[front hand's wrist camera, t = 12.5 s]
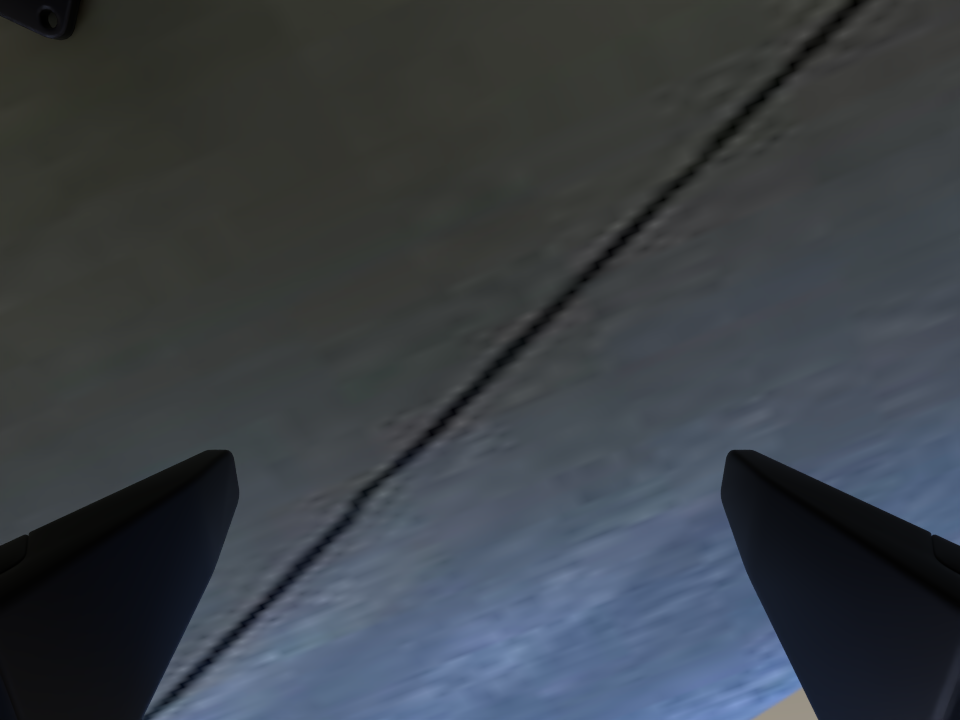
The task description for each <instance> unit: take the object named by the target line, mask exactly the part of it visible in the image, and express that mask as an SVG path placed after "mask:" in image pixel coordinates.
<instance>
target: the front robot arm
mask: <svg viewBox="0 0 960 720" xmlns="http://www.w3.org/2000/svg"><path fill="white" fill-rule="evenodd" d="M79 4H80V0H0V16H2V17H4V18H6V19H8V20H10V21H13V22H15V23H17V24H19V25H21V26H23V27H25V28H27V29H30V30H32V31H34V32H36V33H38V34H40V35H42V36H45V37H48V38H52V39H58V40H63V39H67V38H68V37H70V36H71V35H72V33H73V31H74V28H75V23H76V19H77V14H78V9H79ZM52 11H53V12H54V13H55V15H56V17H57V25H56V27H55V28H52V27H51V26H50V24H49V22H48V15H49V13H50V12H52ZM238 499H239V486H238V480H237V474H236V468H235V462H234V457H233V455H232V453H231V452H230V451H229V450H207V451H204V452H202V453H200V454H198V455H195V456H193V457H191V458H189V459H187V460H185V461H182V462H180V463H178V464H176V465H174V466H172V467H170V468H167V469H165V470H163V471H161V472H159V473H157V474H154V475H152V476H150V477H148V478H146V479H144V480H141V481H139V482H137V483H135V484H133V485H131V486H129V487H126V488H124V489H122V490H120V491H118V492H116V493H113V494H111V495H109V496H107V497H105V498H103V499H101V500H98V501H96V502H94V503H92V504H90V505H88V506H85V507H83V508H81V509H79V510H77V511H75V512H72V513H70V514H68V515H66V516H64V517H62V518H60V519H57V520H55V521H53V522H51V523H49V524H47V525H44V526H42V527H40V528H38V529H36V530H34V531H32V532H30V533H29V536H28V535H23V536H20V537H18V538H16V539H14V540H12V541H10V542H8V543H5V544H3V545H1V546H0V720H142V718H143V716H144V714H145V712H146V710H147V708H148V706H149V704H150V702H151V700H152V698H153V695H154V693H155V691H156V689H157V687H158V685H159V683H160V681H161V679H162V677H163V675H164V673H165V671H166V669H167V667H168V665H169V663H170V661H171V659H172V657H173V654H174V652H175V650H176V648H177V646H178V644H179V642H180V640H181V638H182V636H183V634H184V632H185V630H186V628H187V626H188V624H189V622H190V620H191V618H192V616H193V614H194V611H195V609H196V607H197V605H198V603H199V601H200V599H201V597H202V595H203V593H204V591H205V589H206V587H207V585H208V583H209V580H210V578H211V576H212V574H213V572H214V569H215V566H216V564H217V561H218V558H219V555H220V552H221V550H222V547H223V544H224V541H225V538H226V535H227V532H228V530H229V527H230V524H231V521H232V518H233V515H234V512H235V509H236V507H237V504H238ZM721 499H722V504H723V507H724V509H725V512H726V515H727V518H728V521H729V524H730V527H731V529H732V532H733V535H734V538H735V541H736V544H737V547H738V550H739V552H740V555H741V558H742V561H743V564H744V566H745V569H746V571H747V574H748V576H749V578H750V580H751V583H752V585H753V587H754V589H755V591H756V593H757V595H758V597H759V599H760V601H761V603H762V605H763V607H764V609H765V611H766V614H767V616H768V618H769V620H770V622H771V624H772V626H773V628H774V630H775V632H776V634H777V636H778V638H779V640H780V642H781V644H782V646H783V648H784V650H785V652H786V654H787V657H788V659H789V661H790V663H791V665H792V667H793V669H794V671H795V673H796V675H797V677H798V679H799V681H800V683H801V685H802V687H803V689H804V691H805V693H806V695H807V698H808V700H809V702H810V704H811V706H812V708H813V710H814V712H815V714H816V716H817V718H818V720H960V546H959V545H957V544H955V543H952V542H950V541H948V540H946V539H944V538H942V537H940V536H937V535H932V536H931V533H930V532H929V531H926V530H924V529H922V528H920V527H918V526H916V525H913V524H911V523H909V522H907V521H905V520H903V519H900V518H898V517H896V516H894V515H892V514H890V513H888V512H885V511H883V510H881V509H879V508H877V507H875V506H872V505H870V504H868V503H866V502H864V501H862V500H859V499H857V498H855V497H853V496H851V495H849V494H847V493H844V492H842V491H840V490H838V489H836V488H834V487H831V486H829V485H827V484H825V483H823V482H821V481H819V480H816V479H814V478H812V477H810V476H808V475H806V474H803V473H801V472H799V471H797V470H795V469H793V468H790V467H788V466H786V465H784V464H782V463H780V462H778V461H775V460H773V459H771V458H769V457H767V456H765V455H762V454H760V453H758V452H756V451H753V450H731V451H730V452H729V453H728V455H727V457H726V462H725V468H724V474H723V480H722V486H721Z"/></svg>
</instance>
